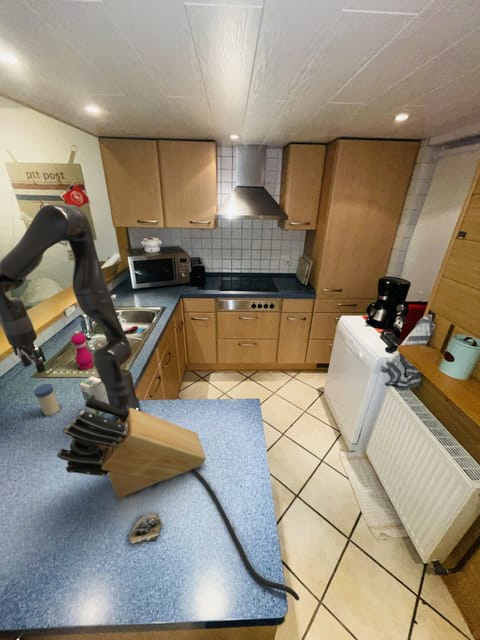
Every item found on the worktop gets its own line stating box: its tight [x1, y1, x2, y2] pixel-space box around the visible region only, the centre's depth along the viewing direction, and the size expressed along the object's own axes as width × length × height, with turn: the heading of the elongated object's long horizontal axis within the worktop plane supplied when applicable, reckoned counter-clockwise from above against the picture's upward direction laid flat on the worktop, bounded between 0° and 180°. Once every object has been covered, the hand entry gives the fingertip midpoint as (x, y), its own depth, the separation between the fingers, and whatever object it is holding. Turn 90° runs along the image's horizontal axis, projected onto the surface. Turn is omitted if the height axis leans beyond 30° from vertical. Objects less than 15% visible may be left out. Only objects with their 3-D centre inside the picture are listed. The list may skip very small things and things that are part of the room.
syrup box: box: [79, 375, 109, 416], centre depth 97 cm, size 6×6×14 cm
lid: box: [33, 383, 54, 398], centre depth 95 cm, size 6×6×2 cm
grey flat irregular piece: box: [128, 512, 163, 545], centre depth 63 cm, size 7×8×2 cm
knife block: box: [56, 398, 207, 499], centre depth 71 cm, size 11×35×31 cm, turn 113°
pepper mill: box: [70, 330, 95, 370], centre depth 122 cm, size 7×7×20 cm
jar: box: [36, 390, 61, 416], centre depth 97 cm, size 5×5×11 cm
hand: (34, 368), depth 91 cm, fingers open, 8 cm apart
